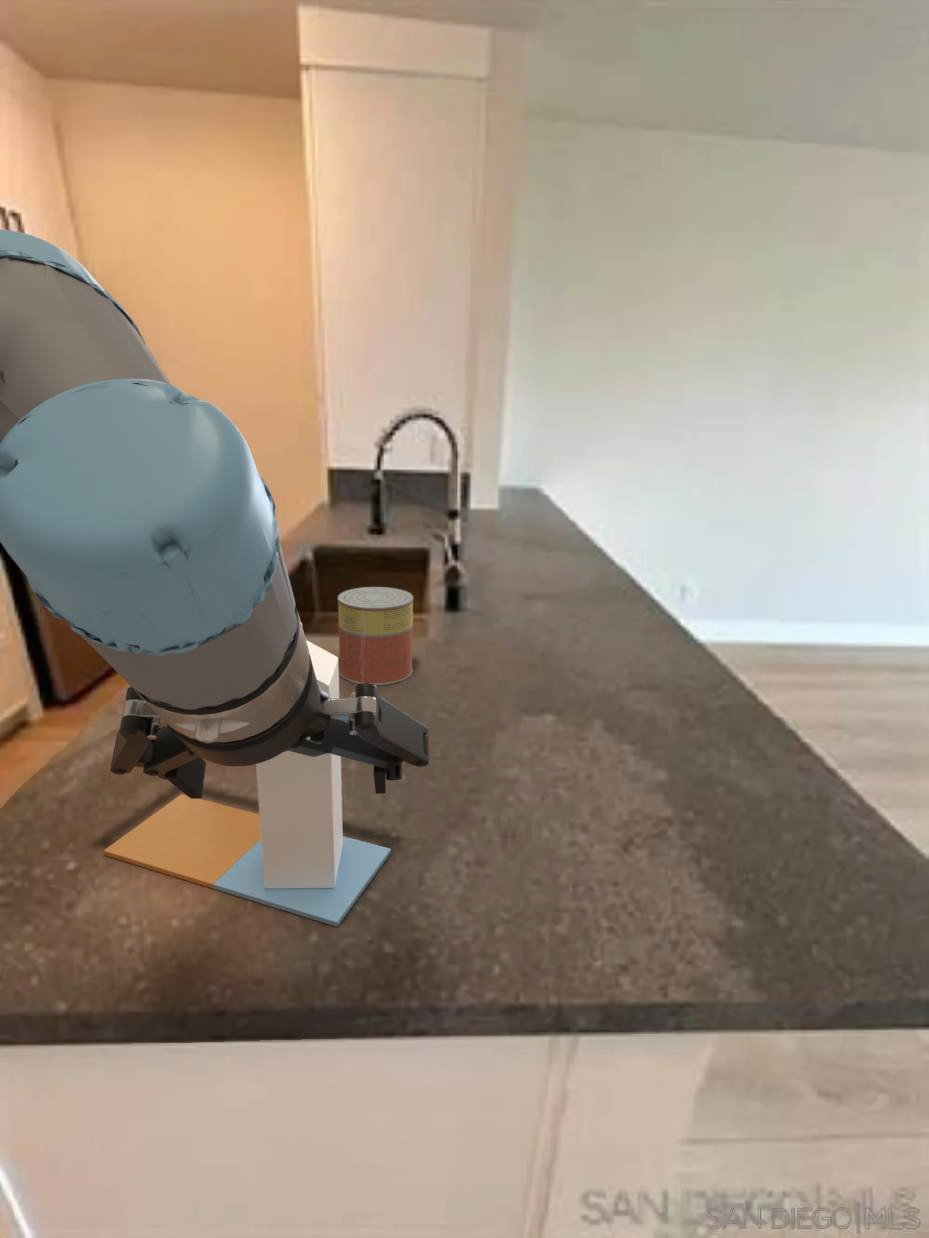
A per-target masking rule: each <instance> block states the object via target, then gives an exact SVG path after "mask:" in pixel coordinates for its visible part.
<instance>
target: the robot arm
mask: <svg viewBox="0 0 929 1238" xmlns="http://www.w3.org/2000/svg"><path fill="white" fill-rule="evenodd" d="M276 507H277V506H276V504H275V502H274V498H273V496H272V493H271V491H270V488H269V486H268V484H267V483H266V481H265V479H264V478H263V477H261V476H260V474H259V472H258V468H257V466H256V462H255V459H254V457H253V455H252V452H251V449H250V447H249V445H248V442H247V441H246V438H245V436H243V434H242V432H241V430H239V428H238V427H237V426H236V424H234V422H233V421H232V420H231V419H230V418H229V417H228V415H227V414H226V413H225V412H223V411H222V410H221V409H220V408H219V407H218V406H217V405H215V404H213V403H211V402H209V401H207V400H202V399H201V398H199V397H198V398H197V397H195V396H193V395H191V394H188V393H187V392H185V391H183V390H181V389H180V388H179V387H177V386H175V385H173V384H172V382H171V381H170V379H169V378H168V376H167V375H166V373H165V372H164V370H163V369H162V367H161V366H160V364H159V363H158V360H156V358H155V356H154V354H153V353H152V352H151V350H150V349H149V347H148V345H147V343H146V341H145V339H144V338H143V337H142V334H141V332H140V330H139V327H138V325H137V324H136V323H135V321H134V320H133V319H132V318H131V316H130V315H129V313H128V312H127V311H126V309H125V308H124V307H123V306H122V305H121V304H120V303H118V302H117V300H115V299H114V298H113V297H112V296H111V294H110V293H109V292H108V291H107V290H106V289H104V288H103V287H102V286H101V284H100V283H99V282H98V281H97V280H96V279H95V277H94V276H93V275H92V274H91V273H90V272H89V271H88V270H87V268H86V267H85V266H84V265H83V264H82V263H81V262H80V261H79V260H78V259H76V258H74V257H73V255H71V254H69V253H68V252H67V251H65V250H64V249H62V248H60V247H59V246H57V245H55V244H54V243H51V242H50V241H47V240H45V239H42V238H40V237H37V236H34V235H31V234H28V233H24V232H20V231H15V230H10V229H1V228H0V544H1V545H2V547H3V548H4V550H5V551H6V553H7V554H8V555H9V556H10V558H11V559H12V560H13V561H14V563H15V565H16V566H18V568H19V570H20V571H21V573H22V576H23V577H24V578H25V580H26V582H27V583H28V585H29V586H30V588H31V590H32V591H33V592H34V595H36V596H37V598H38V599H39V601H40V602H41V603H42V605H43V606H44V607H45V608H46V609H47V611H48V612H49V613H50V614H51V615H52V616H53V617H54V618H56V619H57V618H58V619H61V620H63V621H65V622H66V623H68V625H69V627H70V629H71V631H73V632H74V633H76V634H78V635H80V636H81V638H83V639H84V640H85V641H86V643H88V645H90V646H91V648H93V650H95V651H96V653H98V654H99V656H100V657H102V658H103V659H104V660H105V661H106V663H108V664H109V665H110V666H111V668H112V669H113V670H114V671H115V672H116V673H118V675H119V676H120V677H121V678H122V679H123V680H124V681H125V682H126V683H127V684H128V686H130V687H128V688H127V689H126V693H125V698H124V704H123V709H122V714H121V721H120V725H119V729H118V731H117V732H116V737H115V742H114V748H113V751H112V757H111V763H110V769H109V771H110V772H111V773H113V774H116V775H121V776H122V775H125V774H130V773H132V771H133V769H134V768H143V770H142V773H143V774H145V775H147V776H148V777H149V776H150V777H158V778H159V779H162V780H165V781H169V783H171V784H172V785H173V786H175V788H177V789H178V790H179V791H180V792H182V794H184V795H187V796H188V797H190V798H191V799H202V798H203V790H204V783H205V775H206V774H205V773H206V766H207V762H210V763H213V764H216V765H220V766H225V767H226V766H227V767H247V766H254V765H256V764H258V763H262V762H265V761H267V760H270V759H272V758H274V757H276V756H278V755H280V754H281V753H283V752H286V751H291V752H295V753H299V754H303V755H307V756H311V757H316V756H320V755H323V754H327V753H330V754H334V755H337V756H341V758H344V759H345V758H346V759H349V760H352V761H357V762H360V763H363V764H368V765H371V766H373V781H374V790H375V794H386V790H387V787H386V786H387V785H386V784H387V783H386V782H387V781H400V780H402V779H403V763H404V762H405V763H407V764H409V765H411V766H413V767H416V768H422V767H426V766H428V765H429V764H430V756H429V755H430V753H429V752H430V751H429V750H430V749H429V728H428V727H427V726H426V725H424V724H422V723H421V722H419V720H417V719H415V718H414V717H412V716H410V714H407V713H406V712H404V711H403V710H401V709H400V708H398V707H396V706H395V705H394V704H393V703H391V702H389V701H388V700H386V699H385V698H383V697H381V695H380V692H379V689H378V687H377V686H376V685H374V684H369V683H361V684H356V685H355V692H351V693H350V694H349V697H339V698H333V699H331V698H330V696H329V695H328V694H327V693H326V692H325V691H323V690H321V689H319V688H318V683H317V679H316V675H315V672H314V668H313V664H312V661H311V657H310V654H309V649H308V645H307V642H306V640H307V639H306V635H305V632H304V628H303V624H302V625H301V622H302V621H301V618H300V615H299V611H298V608H297V604H296V599H295V596H294V592H293V587H292V584H291V580H290V577H289V572H288V569H287V564H286V561H285V556H284V554H283V549H282V545H281V542H280V526H279V524H278V521H277V517H276V512H277V508H276ZM308 737H310V740H308V739H306V738H308ZM206 761H207V762H206ZM202 800H203V799H202Z"/></svg>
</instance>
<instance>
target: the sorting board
mask: <svg viewBox="0 0 929 1238" xmlns="http://www.w3.org/2000/svg"><path fill="white" fill-rule="evenodd" d="M391 853H392V849H391V848H390V847H386V846H382V845H379V844H374V843H371V842H367V841H362V840H359V839H355V838H351V837H347V836H344V835H343V846H342V852H341V857H340V862H339V868H338V873H337V879H336V884H335V888H278V889H266V888H265V887H264V874H263V860H262V845H261V831H260V817H259V813H255V812H253V811H249V810H246V809H240V808H237V807H233V806H229V805H225V804H222V803H218V802H213V801H210V800H205V799H191V798H190V797H188V796H187V795H186V794H184V793H181V794H179V795H178V796H177V797H175V798H174V799H172V800H171V801H170V802H169V803H167V804H166V805H164V806H163V807H162V808H160V809H158V810H157V811H156V812H155V813H153V814H152V815H150V816H149V817H148V818H147V819H145V820H144V821H142V822H140V824H138V825H137V826H135V827H134V828H133V829H131V830H130V831H129V832H127V833H126V834H124V835H123V836H122V837H120V838H119V839H118V840H115V842H113V843H111V845H109V846H108V847H106V848H105V849H104V850H103V855H104V856H106V857H110V858H112V859H115V860H119V861H122V862H125V863H129V864H131V865H136V866H139V867H142V868H144V869H145V868H146V869H148V870H152V871H155V872H157V873H161V874H164V875H168V876H171V877H174V878H178V879H181V880H184V881H187V882H189V883H193V884H197V885H200V886H204V887H207V888H209V889H213V890H216V891H219V892H222V893H226V894H229V895H233V896H235V897H238V898H241V899H245V900H249V901H251V902H255V903H259V904H261V905H264V906H268V907H271V908H274V909H278V910H281V911H284V912H287V913H290V914H294V915H297V916H301V917H304V918H307V919H310V920H314V921H317V922H319V923H323V924H326V925H330V926H333V927H336V928H338V926H339V925H341V923H342V921H343V920H344V919H345V918H346V916H347V915H348V913H349V912H350V911H351V909H352V908H353V906H354V905H355V903H356V902H357V901H358V899H359V898H360V897H361V895H363V892H365V890H366V889H367V887H368V885H369V884H370V883H371V882H372V880H373V878H374V877H375V876H376V875H377V874H378V872H379V870H380V869H381V867H382V866H383V865H384V863H385V862H386V861H387V860H388V858H389V856H391Z"/></svg>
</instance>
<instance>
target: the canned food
mask: <svg viewBox="0 0 929 1238" xmlns="http://www.w3.org/2000/svg"><path fill="white" fill-rule="evenodd" d="M414 599H415V597H414V595H413V594H412V593H411V592H409V591H407V590H404V589H400V588H396V587H388V586H363V587H356V588H350V589H347V590H344V591H342V592H340V593H339V594H338V595H337V603H338V604H337V607H338V608H337V609H338V645H339V646H338V649H339V651H338V652H339V676H340V677H341V678H342V679H344V680H345V681H347V682H350V683H353V684H356V685H359V684H361V683H369V684H374V685H376V686H378V687H379V686H388V685H393V684H398V683H400V682H403V681H405V680H407V679H409V678H410V677H411V676H412V674H413V672H414V670H413V627H414V626H413V621H414Z"/></svg>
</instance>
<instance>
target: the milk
mask: <svg viewBox="0 0 929 1238" xmlns="http://www.w3.org/2000/svg"><path fill="white" fill-rule="evenodd" d="M301 625H302V626H303V623H302V621H301ZM306 642H307V645H308V649H309V654H310V657H311V661H312V664H313V668H314V672H315V675H316V679H317V683H318V688H319V689H321V690H323V691H325V692H326V693H327V694H328V695H329V696H330V698H331V699H333V698H340V673H339V669H340V667H339V657H338V656H336V655H334V654H333V653H331V652H329V651H327V650H326V649H323V648H322V647H320V646H319V645H316V644H314V643H312V642H311V641H309V640H307V639H306ZM306 739H308V740H310V737H308V738H306ZM255 770H256V787H257V799H258V802H257V803H258V814H259V817H260V831H261V845H262V860H263V874H264V887H265V888H266V889H278V888H335V884H336V879H337V873H338V868H339V862H340V857H341V852H342V846H343V836H344V833H343V832H344V831H343V795H342V793H343V791H342V789H343V788H342V757H341V756H337V755H334V754H330V753H327V754H323V755H320V756H316V757H311V756H307V755H303V754H299V753H295V752H291V751H286V752H283V753H281V754H280V755H278V756H276V757H274V758H272V759H270V760H267V761H265V762H262V763H258V764H255Z"/></svg>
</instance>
